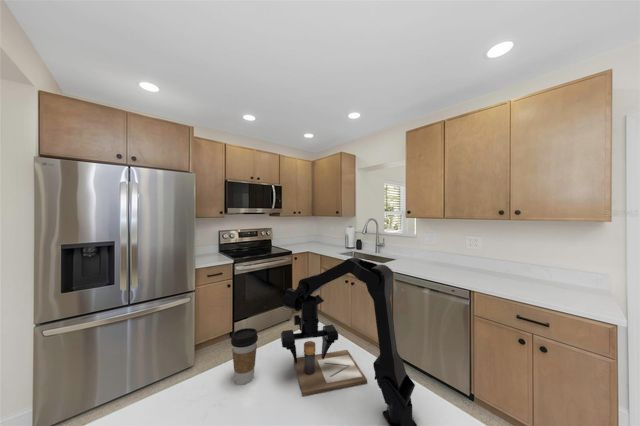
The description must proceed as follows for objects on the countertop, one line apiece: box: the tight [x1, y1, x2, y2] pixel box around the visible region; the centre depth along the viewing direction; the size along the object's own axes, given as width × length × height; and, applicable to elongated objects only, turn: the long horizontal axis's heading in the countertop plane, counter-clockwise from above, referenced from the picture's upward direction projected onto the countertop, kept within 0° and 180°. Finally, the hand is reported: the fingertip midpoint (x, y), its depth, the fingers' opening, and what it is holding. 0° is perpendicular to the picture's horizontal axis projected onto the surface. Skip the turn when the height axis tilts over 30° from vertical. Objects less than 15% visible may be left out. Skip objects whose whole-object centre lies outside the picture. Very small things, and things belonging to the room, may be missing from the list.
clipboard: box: [293, 349, 368, 397], centre depth 79 cm, size 17×21×2 cm
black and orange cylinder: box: [303, 340, 316, 375], centre depth 78 cm, size 4×4×9 cm
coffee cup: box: [230, 327, 259, 385], centre depth 76 cm, size 8×8×15 cm
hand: (309, 360), depth 77 cm, fingers open, 9 cm apart
